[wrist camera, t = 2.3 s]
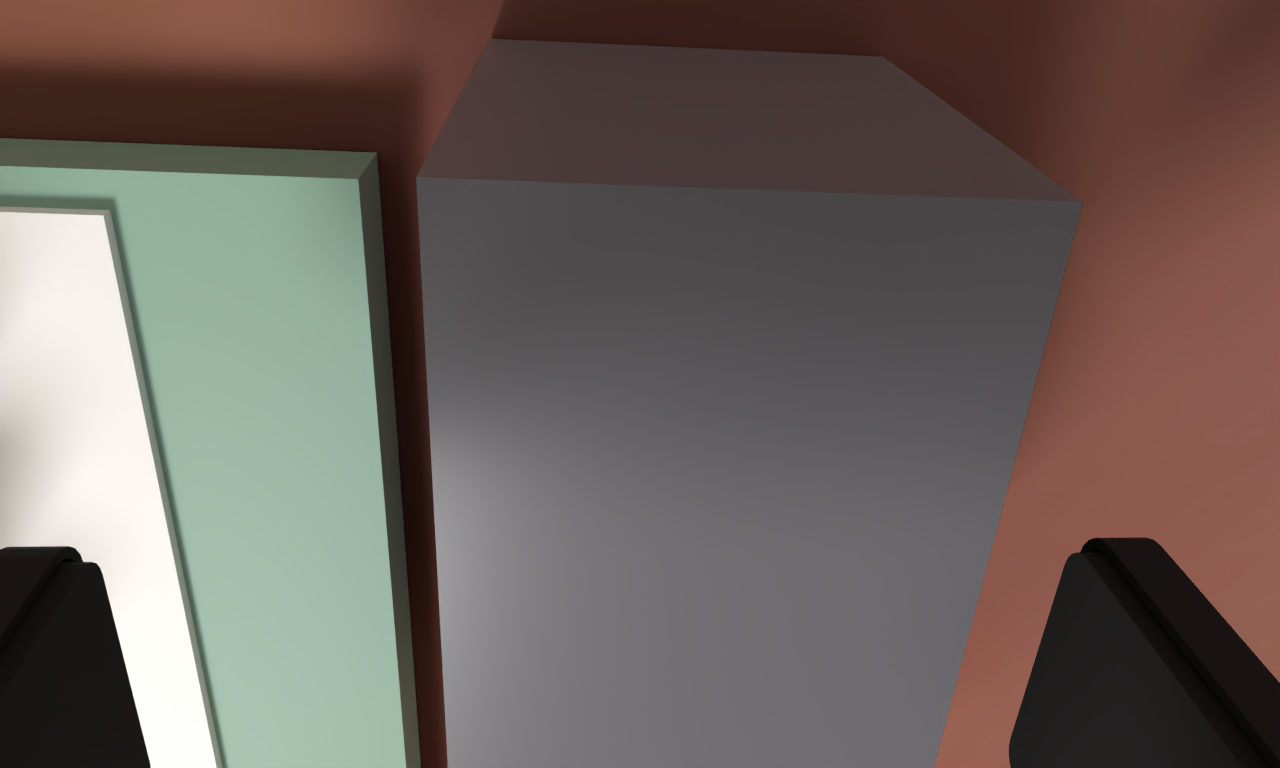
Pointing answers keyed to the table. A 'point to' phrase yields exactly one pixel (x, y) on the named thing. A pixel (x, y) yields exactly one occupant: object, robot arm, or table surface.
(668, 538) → the block
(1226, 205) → the table surface
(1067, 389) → the table surface
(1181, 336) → the table surface
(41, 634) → the robot arm
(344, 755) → the header board
